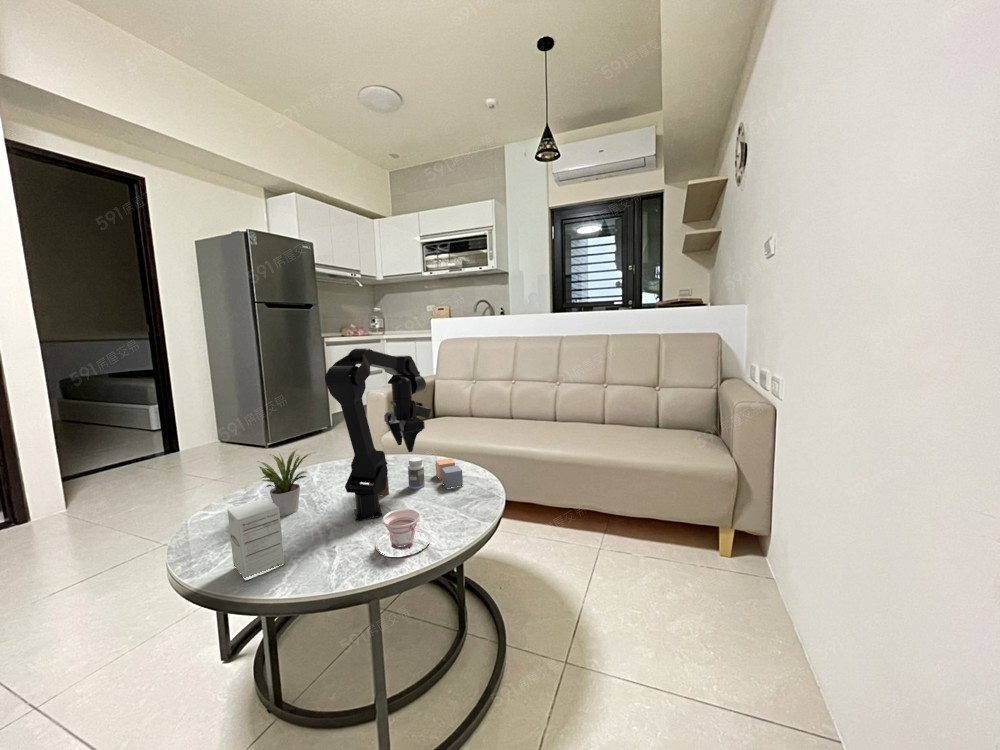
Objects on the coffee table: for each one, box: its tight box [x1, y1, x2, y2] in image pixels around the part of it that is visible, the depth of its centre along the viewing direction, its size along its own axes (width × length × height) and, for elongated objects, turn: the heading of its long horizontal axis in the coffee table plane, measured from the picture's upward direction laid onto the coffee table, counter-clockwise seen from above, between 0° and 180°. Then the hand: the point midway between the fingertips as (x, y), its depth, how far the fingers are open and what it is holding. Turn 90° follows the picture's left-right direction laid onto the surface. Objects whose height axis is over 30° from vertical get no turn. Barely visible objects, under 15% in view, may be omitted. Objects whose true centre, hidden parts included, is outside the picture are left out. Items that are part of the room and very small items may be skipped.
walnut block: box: [368, 475, 390, 497], centre depth 115 cm, size 5×5×5 cm
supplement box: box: [227, 497, 285, 578], centre depth 79 cm, size 7×7×13 cm
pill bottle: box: [407, 456, 426, 490], centre depth 119 cm, size 5×5×8 cm
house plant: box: [256, 448, 317, 517], centre depth 105 cm, size 14×14×16 cm
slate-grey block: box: [441, 464, 464, 490], centre depth 119 cm, size 5×5×5 cm
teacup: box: [375, 508, 432, 555], centre depth 87 cm, size 12×12×6 cm
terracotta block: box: [435, 457, 456, 481], centre depth 126 cm, size 5×5×5 cm
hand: (404, 448), depth 119 cm, fingers open, 9 cm apart
